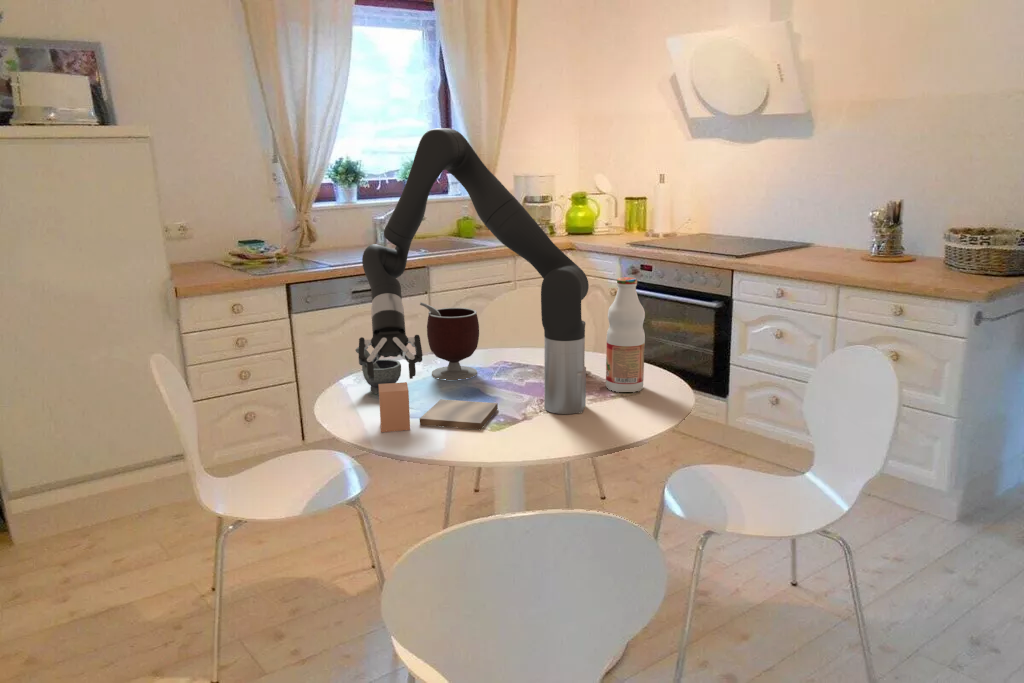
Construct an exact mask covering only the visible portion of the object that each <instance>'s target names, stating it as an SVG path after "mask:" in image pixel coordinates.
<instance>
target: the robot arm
mask: <svg viewBox="0 0 1024 683" xmlns="http://www.w3.org/2000/svg"><path fill="white" fill-rule="evenodd" d="M416 148H417V149H416V152H415V153H414V154H415V155H414V159H413V162H412V165H411V168H410V170H409V174H408V177H407V179H406V181H405V182H406V183H405V185H404V188H403V190H402V192H401V194H400V197H399V200H398V201H397V203H396V206H395V207H394V210H393V211H392V213H391V215H390V218H389V219H388V221H387V223H386V225H385V227H384V230H383V237H384V238H385V239H386V240H387V241H388V242H390V243H391V244H393V246H395V247H394V248H390V247H387V246H384V245H380V244H376V243H372V244H369V245H368V246H367V247H366V248H365V249H364V251H363V254H362V260H361V261H362V268H363V271H364V274H365V277H366V279H367V282H368V284H369V286H370V290H371V310H370V311H371V327H372V337H371V339H365V338H364V337H362V336H361V337H359V339H358V347H359V354H358V364H359V366H362V365H366V366H367V373H368V378H369V379H371V381H374V367H373V365H374V363H375V362H376V361H378V360H380V358H381V357H383V358H389V357H393V358H397V357H398V356H400V357H401V358H402V359H403V360H405V361H406V362H407V363H408V374H409V375H408V376H409V379H410V380H412V379H414V377H415V376H416V364H417V363H421V362H422V363H423V350H422V349H423V348H422V343H421V337H420V335H419V334H414V336H413V337H408V336H407V333H406V324H405V321H406V320H405V312H404V311H405V310H404V304H403V298H402V286H401V283H400V281H399V280H398V278H399V277H401V276H402V275H403V274H404V272H405V270H406V266H407V261H408V256H409V253H410V252H409V251H410V248H411V245H412V241H413V239H414V237H415V235H416V234H417V232H418V230H419V228H420V226H421V224H422V222H423V219H424V217H425V213H426V210H427V204H428V203H427V202H428V198H429V196H430V192H431V191H432V189H433V186H434V185H435V183H436V181H437V179H438V178H439V177H440V175H441V174H442V173H443V171H447V172H448V173H450V175H452V177H454V178H455V179H456V181H458V183H460V185H461V186H462V187H463V188H464V189H465V191H466V193H467V194H468V196H469V197H470V201H471V202H472V206H473V207H474V209H475V212H476V214H477V216H478V218H479V219H480V221H482V223H483V224H484V225H485V227H486V228H487V229H488V230H489V231H490V232H491V234H492V235H493V236H494V237H495V238H496V239H497V240H498V241H499V242H500V243H501V244H503V245H504V246H505V247H506V248H507V249H509V250H510V251H512V252H514V253H515V254H517V255H518V256H520V257H521V258H523V259H524V260H525V261H527V262H528V263H529V265H531V266H532V267H533V268H534V269H535V270H536V271H537V272H538V274H539V275H540V277H541V278H542V279H543V280H542V283H541V287H540V307H541V308H540V309H541V310H540V311H541V313H540V314H541V324H542V328H543V330H544V333H543V335H544V346H543V347H544V356H543V357H544V363H543V364H544V369H543V370H544V371H543V372H544V373H543V374H544V376H543V377H544V378H543V380H544V387H543V389H544V391H543V392H544V394H543V395H544V396H543V397H544V399H543V401H544V406H543V407H544V410H545V411H547V412H550V413H551V414H559V415H571V414H582V413H583V412H584V409H585V407H586V406H587V405H586V404H587V403H586V402H587V400H586V397H587V396H586V395H587V394H586V393H587V392H586V391H587V367H586V366H585V353H586V352H585V350H586V349H585V344H586V343H585V342H586V335H585V334H586V325H585V326H584V324H583V323H582V321H583V320H582V300H584V299H585V297H586V296H587V295H588V292H589V287H590V286H589V280H588V276H587V275H586V273H585V271H583V269H582V268H581V267H580V266H579V265H577V263H576V262H574V261H573V260H572V259H571V258H570V257H569V256H567V254H565V253H564V252H563V251H562V250H561V249H560V248H559V247H558V246H557V245H556V244H555V243H554V242H553V241H552V240H551V239H550V237H549V236H548V235H547V233H546V232H545V230H543V229H542V227H541V225H539V224H538V222H536V220H535V219H534V218H533V217H532V216H531V214H530V213H529V212H528V211H527V209H526V208H525V207H524V206H523V205H522V204H521V203H520V202H519V200H517V197H515V196H514V195H513V194H512V193H511V192H510V191H509V190H508V189H507V187H505V185H504V184H503V183H502V182H501V181H500V180H499V179H498V177H497V176H495V175H494V173H492V172H491V171H490V169H489V168H488V167H487V166H486V165H485V163H484V162H483V160H482V159H481V158H480V157H479V156H478V154H477V153H476V152H475V150H474V149H473V147H472V145H471V144H470V143H469V142H468V140H467V139H466V138H465V136H464V135H463V134H462V133H460V132H459V131H457V130H456V129H453V128H449V127H447V128H444V127H442V128H441V127H439V128H432V129H429V130H427V131H426V132H425V133H424V134H423V135H422V137H421V139H420V141H419V143H418V146H417V147H416ZM409 344H410V345H411V347H413V348H414V350H415V354H413V353H412V352H411V351H410V350H409V348H408V347H407V346H408V345H409ZM370 346H371V347H372V348H373V349H372V351H371V353H370V356H369V357H368V358H366V357H365V350H366V349H367V350H368V348H369V347H370Z"/></svg>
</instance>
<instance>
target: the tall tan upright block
mask: <svg viewBox="0 0 1024 683" xmlns="http://www.w3.org/2000/svg"><path fill="white" fill-rule="evenodd" d="M378 385H379V394H378V399H379V401H378V402H379V416H380V417H379V418H380V419H379V420H380V430H381V431H380V432H381V433H390V432H391V431H392V432H402V431H403V430H405V431H411V419H410V418H411V416H410V415H411V414H410V395H409V394H410V393H409V392H410V390H409V387H408V382H407V381H406V382H405V381H404V382H396V383H387V384H378Z"/></svg>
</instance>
